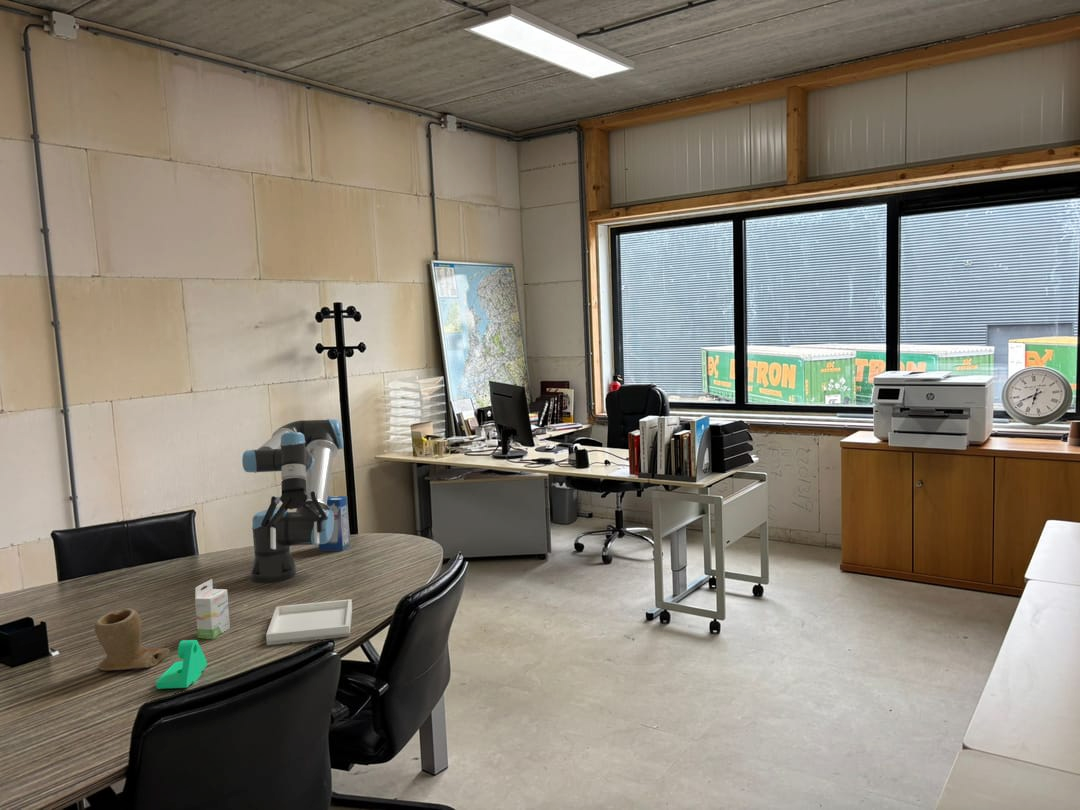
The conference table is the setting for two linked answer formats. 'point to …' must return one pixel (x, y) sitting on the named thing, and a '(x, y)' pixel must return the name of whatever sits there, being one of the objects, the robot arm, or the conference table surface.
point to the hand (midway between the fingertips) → (295, 546)
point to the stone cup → (125, 642)
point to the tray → (310, 622)
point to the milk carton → (338, 524)
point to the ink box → (211, 610)
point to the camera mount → (184, 666)
